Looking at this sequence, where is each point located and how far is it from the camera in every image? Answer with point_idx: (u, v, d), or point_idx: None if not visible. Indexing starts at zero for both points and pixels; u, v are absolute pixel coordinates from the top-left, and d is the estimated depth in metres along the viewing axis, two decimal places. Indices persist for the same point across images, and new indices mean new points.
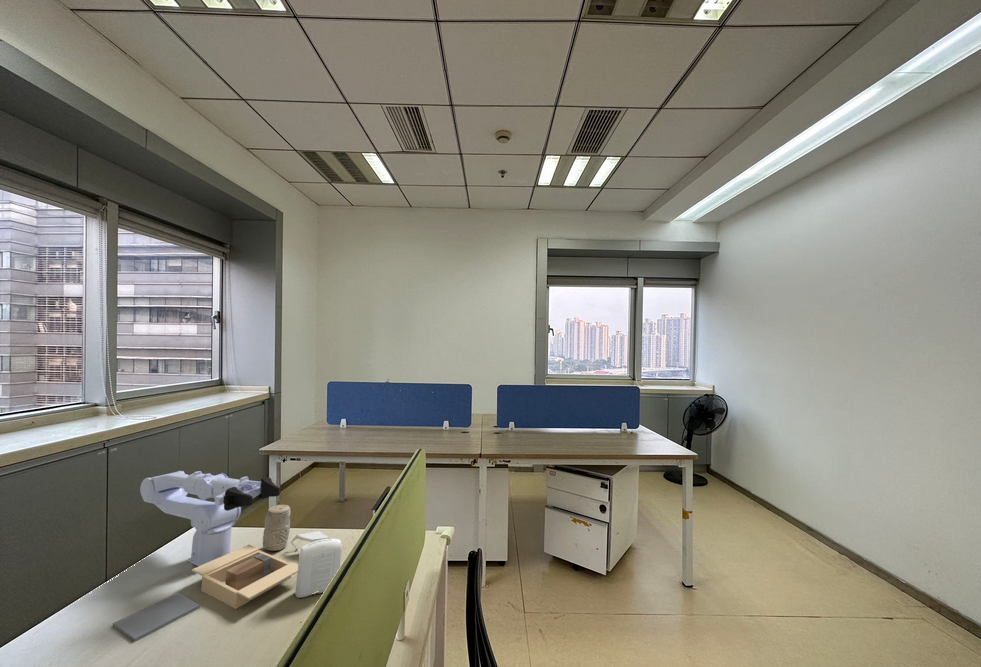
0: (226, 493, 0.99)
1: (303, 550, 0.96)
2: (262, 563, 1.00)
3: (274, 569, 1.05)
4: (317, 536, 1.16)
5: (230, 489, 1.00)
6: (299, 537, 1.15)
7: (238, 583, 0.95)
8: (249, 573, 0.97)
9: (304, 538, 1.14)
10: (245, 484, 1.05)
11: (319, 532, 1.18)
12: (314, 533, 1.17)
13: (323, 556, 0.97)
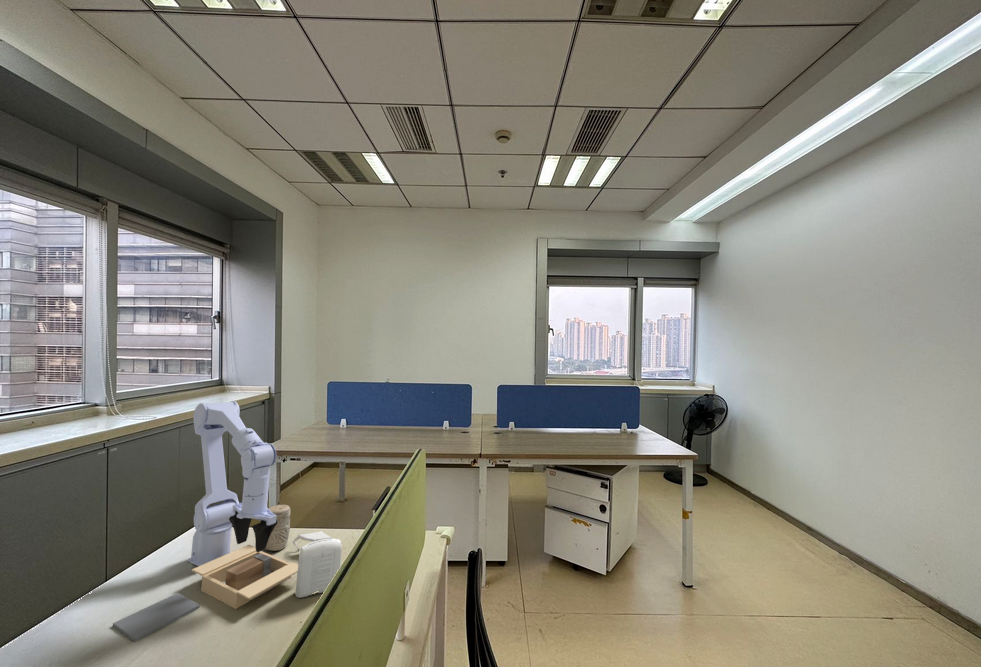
0: None
1: (303, 550, 0.96)
2: (262, 563, 1.00)
3: (274, 569, 1.05)
4: (319, 536, 1.16)
5: (230, 520, 1.00)
6: (301, 537, 1.15)
7: (238, 583, 0.95)
8: (249, 573, 0.97)
9: (306, 538, 1.14)
10: None
11: (321, 532, 1.18)
12: (316, 533, 1.17)
13: (323, 556, 0.97)
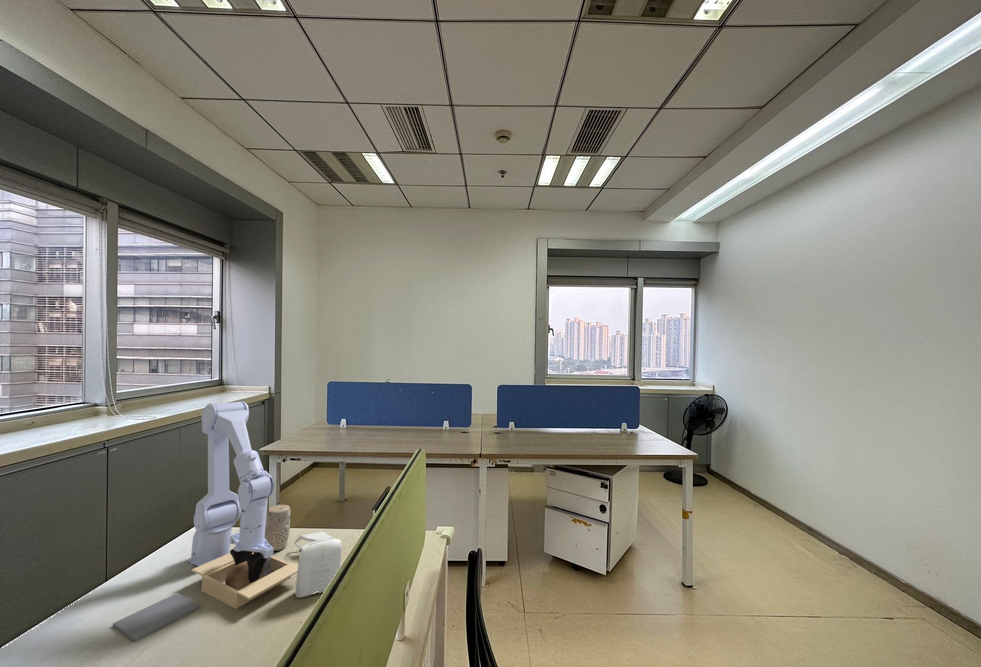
0: None
1: (303, 550, 0.96)
2: None
3: (274, 569, 1.05)
4: (321, 536, 1.16)
5: (231, 553, 0.99)
6: (303, 538, 1.15)
7: (238, 582, 0.95)
8: None
9: (308, 538, 1.14)
10: None
11: (323, 532, 1.18)
12: (318, 533, 1.17)
13: (323, 556, 0.97)
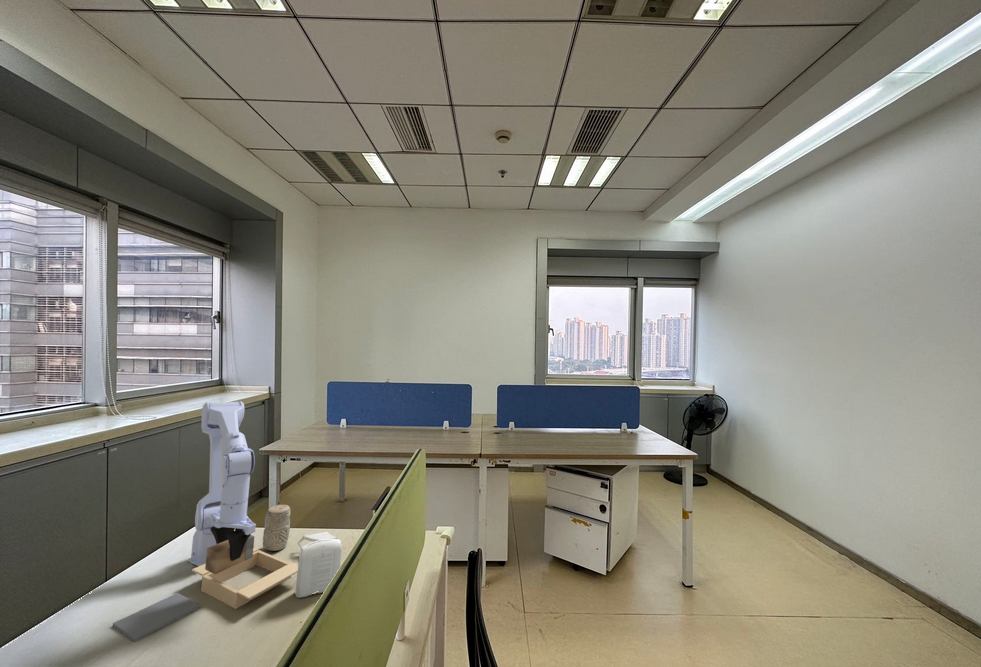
0: None
1: (303, 550, 0.96)
2: None
3: (274, 569, 1.05)
4: (324, 536, 1.16)
5: (212, 531, 0.95)
6: (306, 538, 1.15)
7: (219, 561, 0.92)
8: None
9: (312, 539, 1.14)
10: None
11: (326, 532, 1.18)
12: (321, 534, 1.17)
13: (323, 556, 0.97)
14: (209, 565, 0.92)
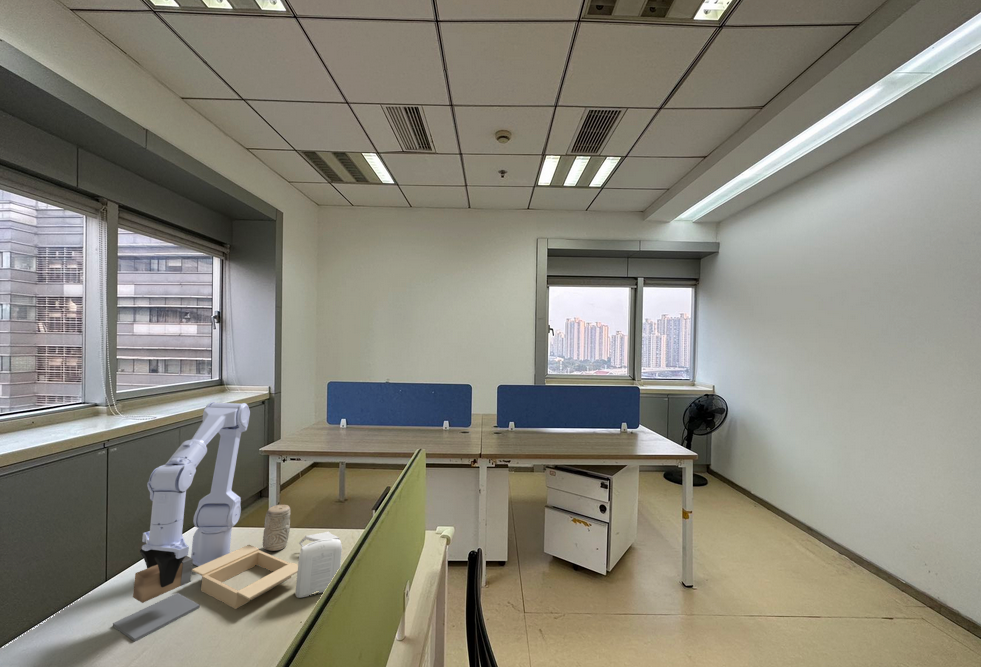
0: None
1: (303, 550, 0.96)
2: (180, 565, 0.88)
3: (274, 569, 1.05)
4: (326, 536, 1.16)
5: (141, 553, 0.86)
6: (308, 538, 1.15)
7: (147, 588, 0.82)
8: None
9: (314, 539, 1.14)
10: None
11: (328, 532, 1.18)
12: (323, 534, 1.17)
13: (323, 556, 0.97)
14: (137, 592, 0.83)
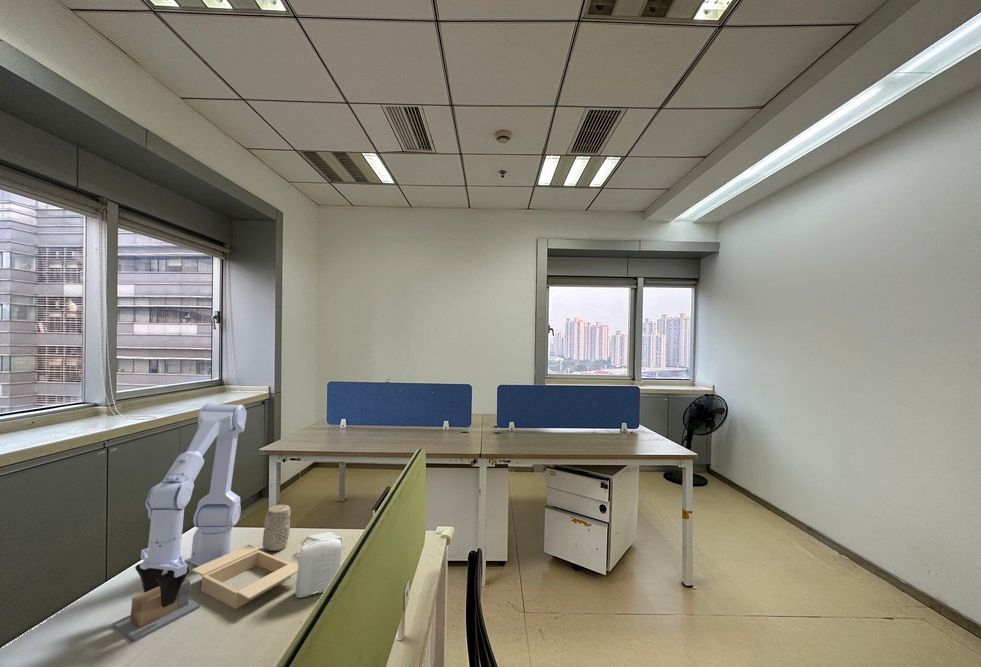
0: None
1: (303, 550, 0.96)
2: None
3: (274, 569, 1.05)
4: (328, 536, 1.16)
5: (136, 569, 0.86)
6: (310, 538, 1.15)
7: (144, 613, 0.82)
8: (160, 601, 0.84)
9: (316, 539, 1.14)
10: None
11: (330, 532, 1.18)
12: (325, 534, 1.17)
13: (323, 556, 0.97)
14: (134, 617, 0.82)
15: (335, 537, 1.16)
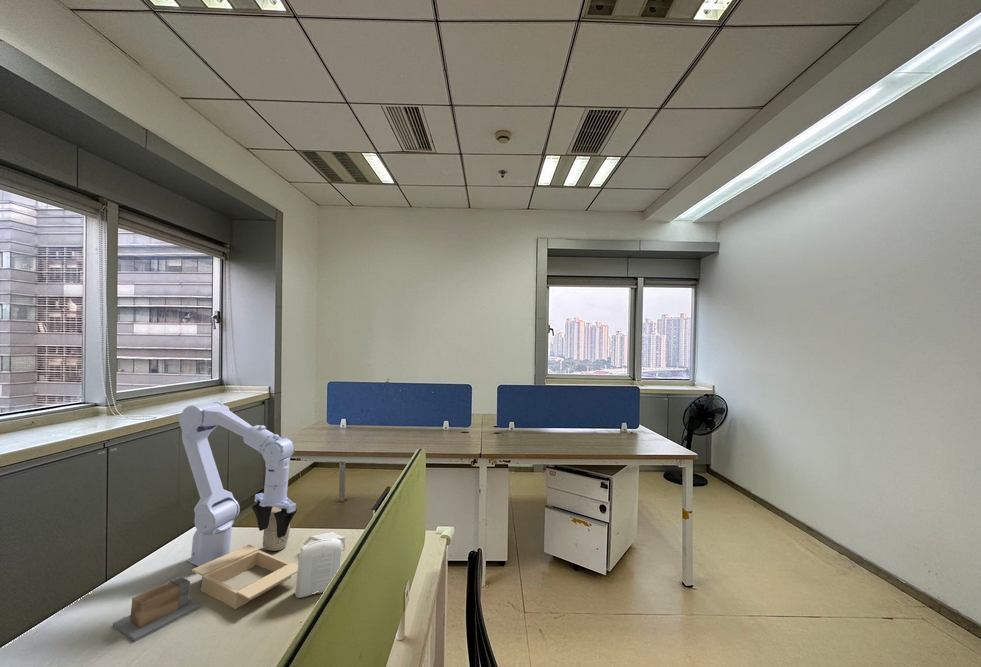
0: None
1: (303, 550, 0.96)
2: (178, 588, 0.88)
3: (274, 569, 1.05)
4: (331, 536, 1.16)
5: (253, 508, 1.07)
6: (313, 538, 1.15)
7: (144, 613, 0.82)
8: (160, 601, 0.84)
9: (319, 539, 1.14)
10: None
11: (332, 533, 1.18)
12: (327, 534, 1.18)
13: (323, 556, 0.97)
14: (134, 617, 0.82)
15: (338, 537, 1.16)
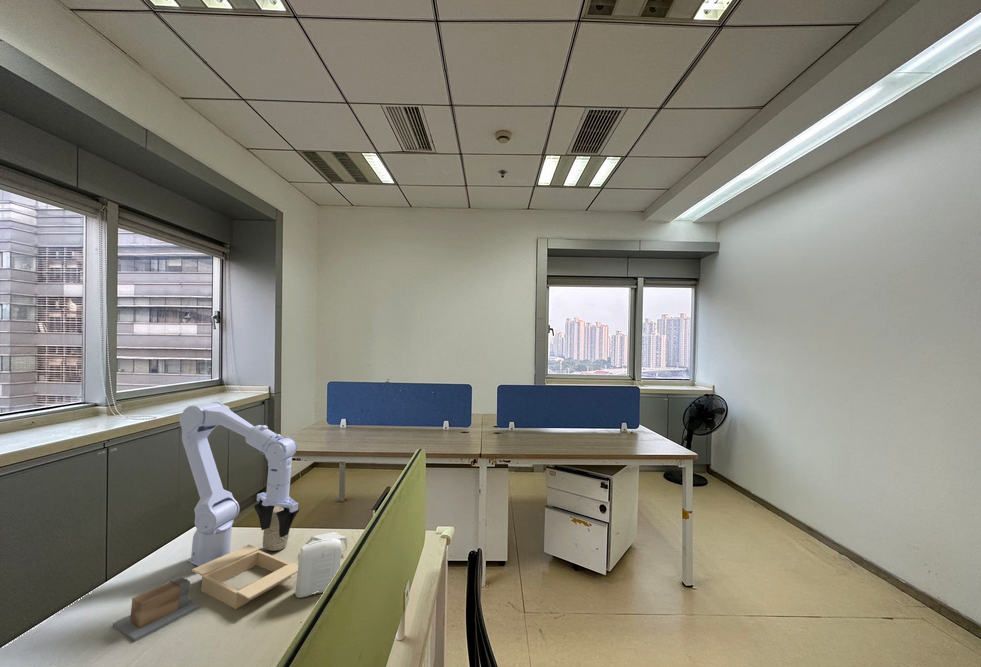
0: None
1: (303, 550, 0.96)
2: (178, 588, 0.88)
3: (274, 569, 1.05)
4: (333, 536, 1.16)
5: (255, 508, 1.08)
6: (315, 538, 1.15)
7: (144, 613, 0.82)
8: (160, 601, 0.84)
9: (321, 539, 1.14)
10: None
11: (334, 533, 1.19)
12: (329, 534, 1.18)
13: (323, 556, 0.97)
14: (134, 617, 0.82)
15: (340, 537, 1.16)
